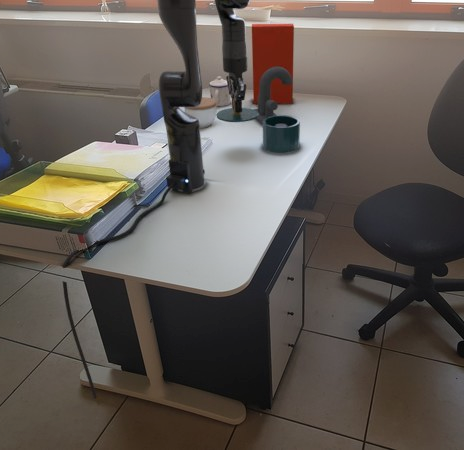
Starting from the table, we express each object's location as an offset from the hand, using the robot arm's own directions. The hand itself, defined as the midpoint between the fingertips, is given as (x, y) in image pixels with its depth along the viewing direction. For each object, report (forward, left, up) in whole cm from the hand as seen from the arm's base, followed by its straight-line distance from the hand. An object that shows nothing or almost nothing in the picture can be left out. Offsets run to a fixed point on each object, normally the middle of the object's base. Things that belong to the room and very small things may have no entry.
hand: (237, 110), depth 150 cm
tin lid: (0, 0, -2) cm, 2 cm away
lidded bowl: (+21, +27, -15) cm, 38 cm away
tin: (+11, -11, -15) cm, 22 cm away
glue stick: (+11, -11, -15) cm, 21 cm away
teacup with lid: (+47, +33, -15) cm, 60 cm away
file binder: (+60, +13, -15) cm, 63 cm away
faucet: (+40, +4, -15) cm, 43 cm away
